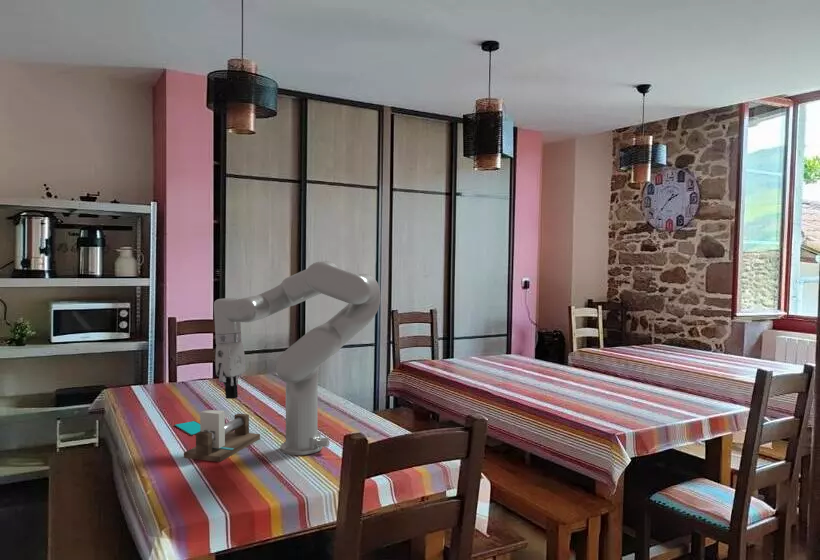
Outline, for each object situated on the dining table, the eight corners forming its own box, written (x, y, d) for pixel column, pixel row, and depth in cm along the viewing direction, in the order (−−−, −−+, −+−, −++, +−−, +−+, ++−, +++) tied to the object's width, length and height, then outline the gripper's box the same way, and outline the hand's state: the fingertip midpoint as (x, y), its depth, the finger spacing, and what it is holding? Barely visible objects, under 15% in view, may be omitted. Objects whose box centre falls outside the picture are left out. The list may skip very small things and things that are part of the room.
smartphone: (191, 434, 191) (173, 424, 202) (191, 437, 191) (173, 427, 202) (213, 430, 196) (194, 420, 207) (213, 433, 196) (194, 423, 207)
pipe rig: (260, 438, 189) (260, 415, 188) (220, 461, 168) (220, 435, 167) (227, 435, 192) (226, 412, 192) (183, 457, 171) (183, 432, 170)
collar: (224, 445, 175) (224, 411, 174) (219, 448, 172) (218, 413, 171) (206, 443, 176) (206, 409, 176) (200, 446, 174) (200, 412, 173)
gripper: (225, 342, 172) (229, 404, 173) (252, 335, 187) (255, 392, 188) (203, 342, 174) (206, 403, 175) (231, 335, 189) (234, 392, 190)
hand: (231, 397), depth 181 cm, fingers closed
